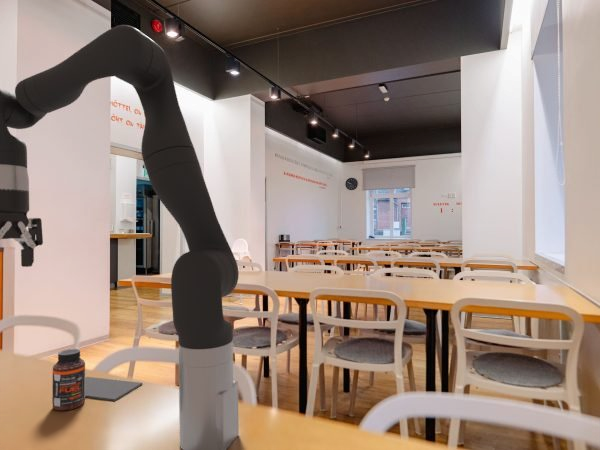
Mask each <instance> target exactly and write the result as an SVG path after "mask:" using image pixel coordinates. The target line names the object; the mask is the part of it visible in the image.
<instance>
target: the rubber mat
mask: <svg viewBox="0 0 600 450" xmlns="http://www.w3.org/2000/svg"><path fill="white" fill-rule="evenodd" d="M142 385H143V382H138V381H130V380H129V381H128V380H121V379H110V378H102V377H94V376H93V377H92V376H91V377H90V376H85V398H88V399H96V400H104V401H112V402H116V401H117V400H119V399H120V398H123V397H124V396H127V395H128V394H129V393H131V392H133V391H134V390H136V389H137V388H139V387H141V386H142Z"/></svg>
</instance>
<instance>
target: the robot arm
mask: <svg viewBox="0 0 600 450" xmlns="http://www.w3.org/2000/svg"><path fill="white" fill-rule="evenodd" d="M110 77H115V78H117V79H119V80H120V81H123V82H125V83H127V84H129V85H131V86H132V87H133V88H134V90H135V93H136V95H137V96H138V98H139V101H140V103H141V104H140V105H141V107H142V110H143V113H144V118H145V119H144V120H145V121H144V122H145V123H144V128H143V129H144V130H143V133H142V138H141V139H142V141H141V150H140V151H141V156H142V161H143V164H144V167H145V170H146V173H147V177H148V179H149V182H150V185H151V187H152V189H153V191H154V193H155V194H156V196H157V198H158V199H159V201H161V202H160V203H162V205H163V206H164V207H165V209H166V210H167V211H168V212H169V213H170V215H171V216H172V217H173V219H174V221H176V223H177V225H178V226H179V228H180V229H181V231H182V233H183V236H184V239H185V243H186V244H187V248H188V251H187V252H185V253H182V254H181V255H180V256H179V257H178V258H177V260H176V261H175V262H174V265H173V267H172V273H171V276H170V277H171V279H170V280H171V281H170V282H171V283H170V292H171V293H170V294H171V307H172V319H173V321H172V322H173V326H174V330H175V331H176V334H177V336H178V391H179V392H178V400H179V401H178V402H179V403H178V405H179V418H178V419H179V446H180V448H181V449H182V450H227V449H228V448H229V447H230V445H231V444H232V443H233V442H234V441H235V439H236V438H237V437H238V436H239V434H240V433H239V431H240V430H239V429H240V428H239V426H240V425H239V420H240V417H239V381H237V380H234V329H233V324H232V323H231V321H229V320H227V319H225V318H224V313H223V312H224V309H223V298H224V297H227V296H228V295H230V294H231V293H232V292H233V291H234V290H235V288H236V286H237V285H238V281H239V267H238V262H237V260H236V258H235V256H234V254H233V251H232V249H231V247H230V244H229V242H228V240H227V238H226V235H225V234H224V230H223V229H222V227H221V224H220V222H219V219H218V217H217V214H216V211H215V208H214V205H213V203H212V199H211V196H210V193H209V190H208V187H207V183H206V182H205V178H204V175H203V171H202V168H201V164H200V161H199V158H198V155H197V153H196V150H195V147H194V144H193V142H192V139H191V136H190V133H189V130H188V127H187V125H186V121H185V118H184V115H183V113H182V110H181V108H180V107H181V106H180V104H179V100H178V95H177V91H176V87H175V82H174V77H173V73H172V68H171V64H170V61H169V58H168V56H167V53H166V52H165V50H164V49H163V47H161V45H159V44H158V43H157V42H156V41H154V40H153V39H152V38H150V37H149V36H147V35H146V34H145V33H143V32H142V31H141V30H139V29H137V28H136V27H134V26H131V25H128V24H120V25H116V26H114V27H111V28H110V29H108V30H106V31H105V32H103V33H102V34H100V35H98V36H97V37H96V38H95V39H93V40H92V41H90V42H88V44H86V45H85V46H83V47H81V48H80V49H78V50H76V51H75V52H74V53H73V54H71V55H70V56H68V58H66V59H64V60H63V61H61V62H60V63H58V64H55V65H54V66H53V67H51V68H48V69H46V70H43V71H41V72H39V73H35V74H34V75H31V76H29V77H26V78H24V79H22V80H20V81H19V82H18V83H16V85H15V88H14V92H10V91H7V90H5V89H2V88H0V241H1V240H7V239H8V240H9V239H13V240H14V241H15V242H17V243H18V244H19V246H20V247H21V249H20V260H21V261H20V262H21V264H20V265H21V267H23V268H24V267H27V268H28V267H33V264H34V262H35V248H36V247H38V246H42V245H43V244H44V241H43V239H44V238H43V236H44V235H43V228H42V225H43V224H42V219H41V218H40V217H32V218H31V217H30V218H29V217H28V213H29V212H30V180H29V179H30V178H29V174H28V173H29V172H28V171H29V170H28V149H27V145H26V142H24V140H22V139H20V138H19V137H16V136H14V135H12V133H11V132H10V131H9V129H10V128H11V129H16V130H24V129H29V128H32V127H34V126H35V125H36V124H37V123H38V122H39V121H40V120H42V119H43V118H44V117H45V116H47V114H49V113H52V112H54V111H57V110H60V109H62V108H65V107H68V106H71V104H73V103H74V102H75V101H77V100H78V99H79V98H80V97H81V95H82V94H83V92H84V90H85V89H86V87H87V86H88V85H89V84H90V83H92V82H95V81H97V80H100V79H105V78H110ZM27 229H28V230H27Z"/></svg>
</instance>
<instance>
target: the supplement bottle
mask: <svg viewBox="0 0 600 450" xmlns="http://www.w3.org/2000/svg"><path fill="white" fill-rule="evenodd" d="M85 377H86V362H85V360H84V359H82V358H81V350H80V349H77V348H74V349H73V348H70V349H65V350H62V351H61V350H60V351H59V352H58V354H57V362H55V363H54V365H53V366H52V402H51V403H52V408H53V410H55V411H59V412H62V411H63V412H64V411H70V410H73V409H77V408H79V407H81V406H82V405H83V404H84V403H85V402H86V397H85Z"/></svg>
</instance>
